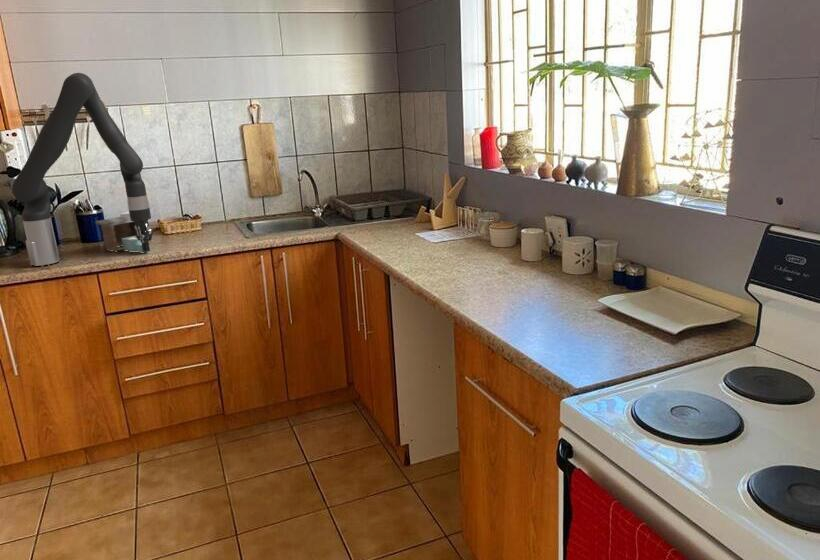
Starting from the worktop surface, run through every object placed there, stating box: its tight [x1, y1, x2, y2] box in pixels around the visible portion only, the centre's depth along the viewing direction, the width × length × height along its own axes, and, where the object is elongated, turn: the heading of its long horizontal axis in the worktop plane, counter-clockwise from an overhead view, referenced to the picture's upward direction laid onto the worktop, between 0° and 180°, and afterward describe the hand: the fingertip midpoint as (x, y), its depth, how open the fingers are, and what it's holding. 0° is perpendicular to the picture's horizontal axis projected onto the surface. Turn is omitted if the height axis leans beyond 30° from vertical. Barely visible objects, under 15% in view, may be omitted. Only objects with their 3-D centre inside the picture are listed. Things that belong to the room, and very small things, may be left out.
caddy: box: [121, 236, 143, 252], centre depth 262 cm, size 12×6×5 cm, turn 47°
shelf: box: [94, 215, 136, 252], centre depth 267 cm, size 16×10×12 cm, turn 138°
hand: (146, 251), depth 257 cm, fingers closed
